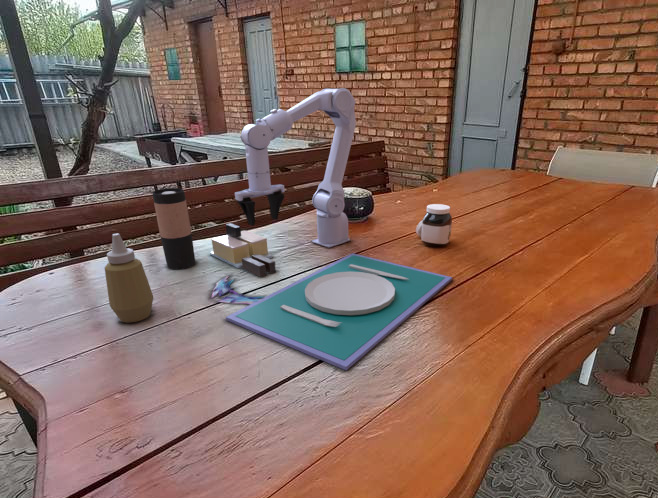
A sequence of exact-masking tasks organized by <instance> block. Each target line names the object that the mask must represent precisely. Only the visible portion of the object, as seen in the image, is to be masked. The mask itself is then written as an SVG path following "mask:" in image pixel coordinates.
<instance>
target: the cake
mask: <svg viewBox="0 0 658 498" xmlns="http://www.w3.org/2000/svg"><path fill="white" fill-rule="evenodd" d="M240 237H241V238H242V241H240V240H238V239H236V238H233V237H231V236H228V235H227V234H226V235H220V236H217V237H213V238H211V244H212V251H209V255H210V256H212V257H214V258H216V259H218V260H220V261H222V262H225V263H226V264H228V265H230V266H233V267H234V268H237V269H243V265H242V258H245V257H249V258H251V259H252V255H255V254H259V255H261V256H263V257H266V258H268V259H273V257H274V256H273V254H270V253H269V250H268V249H269V248H268V239H267V238H266V237H264V236H262V235H258V234H257V233H253V232H250V231H248V230H241V236H240Z"/></svg>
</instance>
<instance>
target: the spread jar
mask: <svg viewBox="0 0 658 498" xmlns="http://www.w3.org/2000/svg"><path fill="white" fill-rule="evenodd" d="M450 210H451V206H449V205H447V204H441V203H432V204H428V205H426V213H425V214H424V216H423V219H422V220H420V221H419V222H418V223H417V225H416V228H415V234H416V235H417V236H418V237H419V238H420V239H421V242H422V243H423V244H424V245H425V246H427V247H430V248H444V247H446V246H448V244H449V243H450V240H451V236H452V229H453V228H452V227H453V226H452V225H453V217H452V215H451V214H450V213H451V211H450Z"/></svg>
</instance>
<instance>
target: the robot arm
mask: <svg viewBox="0 0 658 498" xmlns="http://www.w3.org/2000/svg"><path fill="white" fill-rule="evenodd" d="M355 107H356V99H355V98H354V96H353V94H352V93H351V91H350V90H349V89H348V88H345V87H340V88H330V87H326V88H323V89H322V90H319V91H316V92H314V93H313V94H311V95H310V96H307V97H306V98H304V99H303V100H301V101H299V103H297V104H295V105H294V106H291V108H289V109H288V110H284V109H282V108H279V109H277V108H273V109H271V110H270V114H268V115H266V116H264V117H262V118H256V119H255V123H248V124H246V125H245V126H244V127H243V129H242V130H241V134H240V135H239V137H240V140H241V142H242V144H243V145H244V148H245V160H246V161H245V162H246V170H247V178H248V188H247V189H246V188H245V189H243V190H240V191H236V192H234V198H235V200H236V203H238V205H239V207H240V208H241V210H242V211H243V213H244V216H245V218H246V221H247V224H248V225H249V226H255V225H256V218H255V209H256V208H255V206H256V201H254V200H252V199H254V198H257V197H258V198H259V197H264V196H266V197H267V200H268V204H269V211H270V218H271V220H275V221H278V219H279V215H280V209H281V205H282V203H283V201H284V199H285V193H286V192H285V185H284V184H280V183H279V184H272V183H271V182H272V181H271V171H270V159H269V150H268V147H269V146H270V144H271V142H272V141H274V140H275V139H277V138H279V137H281V136H282V135H284V134H285V133H287V132H289V131H291V130H292V128H293V125H294V123H295V122H297V121H299V120H301V119H303V118H305V117H307V116H309V115H311V114H313V113H314V112H317V111H322V112H324V114H326V115H327V116H328V117H329V118H330V119H331V121H332V123H333V124H334V126H335V129H334V133H333V137H332V142H331V146H330V151H329V155H328V160H327V163H326V168H325V172H324V177H323V180H322V181H321V182H320V183H319V184H318V185H317V186H318V187H317V189H316V191H315V193H314V194H313V196H312V199H311V203H312V206H313V207H314V208H315V209H316V229H317V230H316V231H317V238H316V239H312V240H311V243H314V244H316V245H319V246H322V247H324V248H332V247H336V246H338V245H341V244H345V243H348V242H351V238H350V237H349V218H348V216H347V214H346V212H344V210H345V205H346V203H345V196H346V195H345V194H346V193H345V190H344V188H343V181H344V175H345V172H346V167H347V163H348V159H349V156H350V151H351V147H352V142H353V139H354V134H355V130H356V127H357V120H356V113H355Z"/></svg>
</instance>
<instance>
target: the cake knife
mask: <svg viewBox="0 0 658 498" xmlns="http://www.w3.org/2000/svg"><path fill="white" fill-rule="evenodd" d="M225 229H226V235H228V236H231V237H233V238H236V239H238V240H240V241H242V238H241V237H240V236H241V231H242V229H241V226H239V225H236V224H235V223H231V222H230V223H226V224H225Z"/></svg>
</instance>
